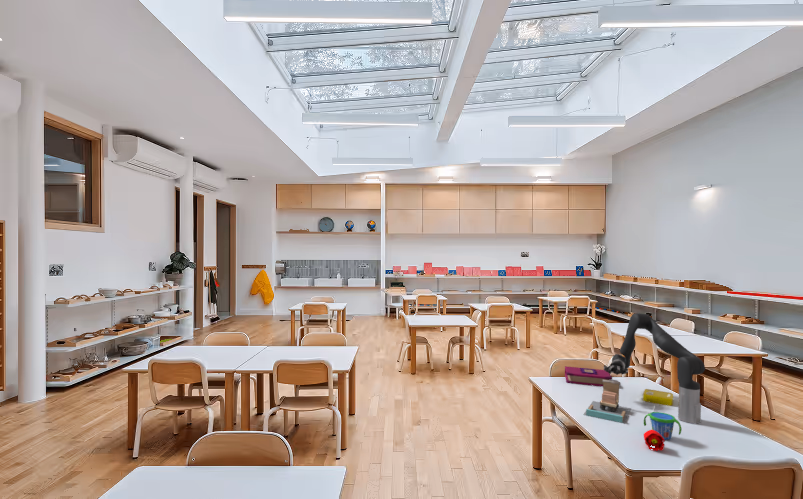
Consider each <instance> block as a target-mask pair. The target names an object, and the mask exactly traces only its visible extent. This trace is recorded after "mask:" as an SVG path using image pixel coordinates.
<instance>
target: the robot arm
mask: <svg viewBox="0 0 803 499" xmlns="http://www.w3.org/2000/svg"><path fill="white" fill-rule="evenodd" d="M639 329H640V330H646V331H647V332H648V333H650V334H651V335H652V340H653V342H654V344H655V345H656V346H657V347H658V349H660V350H661V351H662V352H664V353H666V354H668V355H670V356H672V357H673V358H674V357H675V358H677V364H676V369H677V370H676V372H677V381H678V410H677V412H678V413H677V418H678V419H677V420H680V421H682V422H685V423H691V424H699V423H700V422H701V420H702V419H701V418H702V415H701V414H702V413H701V412H702V403H700V398H701V396H700V393H701V384H700V382H699V381H695V380H694V379H693V376H694V375H701V374H703V373H704V372H705V371H706V366H705V363H704V362H703V360H702V359H701V358H700V357H699V356H697V355H696V354H694V353H693V352H691V351H690V350H688V349H687V348H685V346H684V345H682V344H681V343H680V342H678V340H676V338H674V337H673V336H672V335H671V334H669V333H668V332H667V331H666V330H665V329H664V328H662V327H661V326H660V325H659V324H658V323H657V322H656V321H655V319H653V318H652V317H651V316H650V315H649V314H647V313H638V312H637V313H633V314H632V315H631V317H630V318H629V321H628V326H627V329H626V334H625V337H624V340H623V342H622V344H621V346H620V348H619V352H620V354H619V353H615V354H614V355H613V356H612V358H611V363H610V364H609V365H606V364H605V365H603V370H605V371H606V372H608V373H609V374H610V375H611V374H614V375H615V376H618V375H626V374H628V373H629V368H630V366H631V358H632V354H633V353H634V350H635V348H636V344H637V343H636V338H635V336H636V335H635V334H636V332H637V330H639Z"/></svg>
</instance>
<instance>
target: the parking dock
mask: <svg viewBox="0 0 803 499" xmlns="http://www.w3.org/2000/svg"><path fill="white" fill-rule="evenodd" d="M600 402H601V401H595V400H592V402H591V403H590V404H589V406H588V407H587V408H586V410H585V412H584V413H583V416H586V417H592V418H596V419H601V420H604V421H610V422H614V423H618V424H619V423H620V424H624V425H625V424H626V422H627V420H628V417H629V415H630V412H631V410H632V408H631V407H627V406H620V405H619V407H618V408H617V411H616V412H612V411H611V407H610V406H606V408H605V409H604V410H602V409H600Z"/></svg>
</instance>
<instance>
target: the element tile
mask: <svg viewBox="0 0 803 499" xmlns="http://www.w3.org/2000/svg"><path fill="white" fill-rule="evenodd" d="M642 401H643V402H645V403H653V404H656V405H663V406H668V407H673V402H674V394H673V393H672V392H669V391H661V390H655V389H649V388H645V389H644V390H643V394H642Z"/></svg>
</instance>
